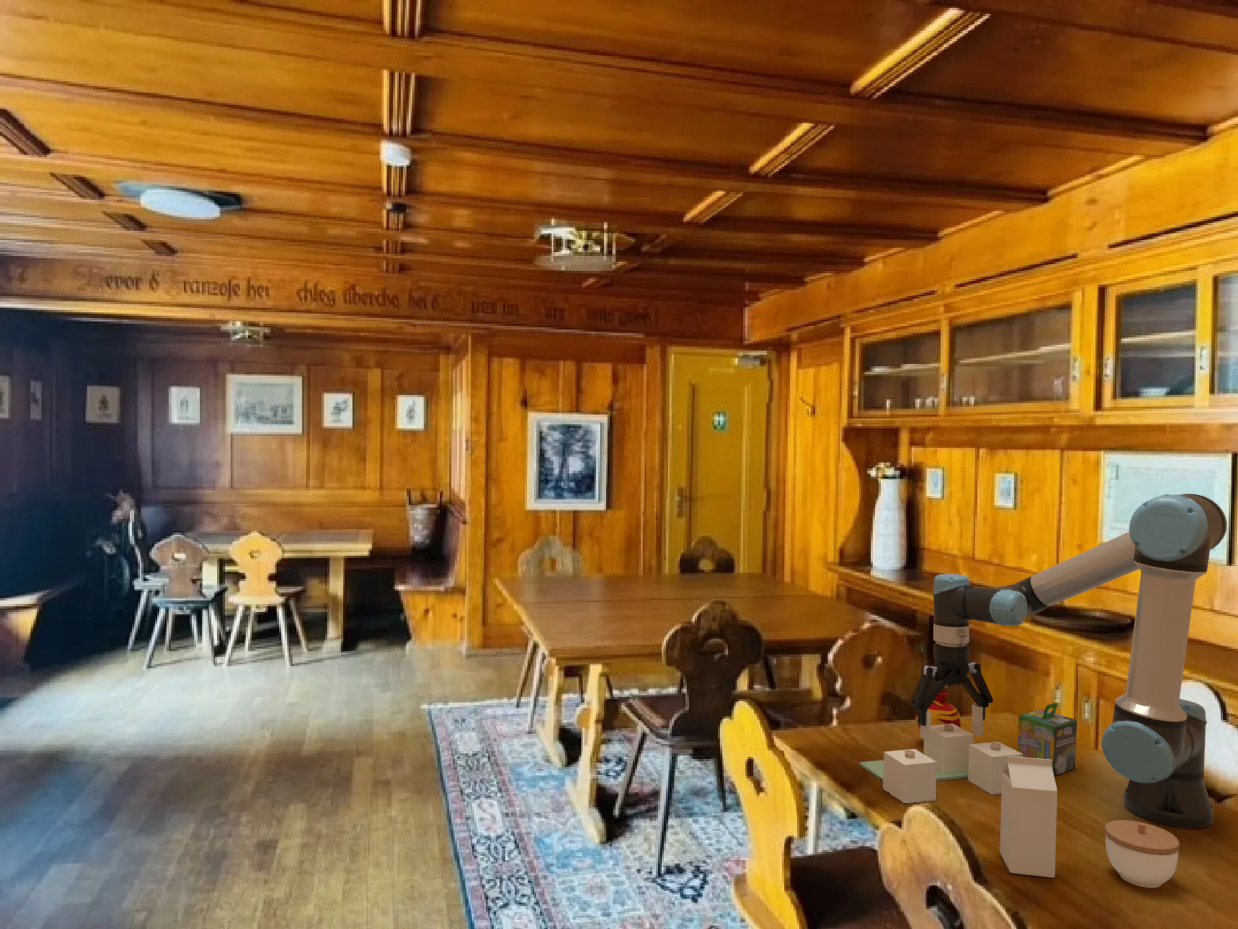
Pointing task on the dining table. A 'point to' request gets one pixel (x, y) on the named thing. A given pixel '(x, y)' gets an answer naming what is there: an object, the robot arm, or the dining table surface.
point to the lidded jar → (1141, 852)
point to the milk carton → (1028, 816)
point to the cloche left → (909, 776)
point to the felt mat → (878, 771)
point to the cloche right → (989, 765)
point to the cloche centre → (949, 747)
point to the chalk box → (1048, 738)
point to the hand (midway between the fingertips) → (951, 737)
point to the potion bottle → (943, 711)
